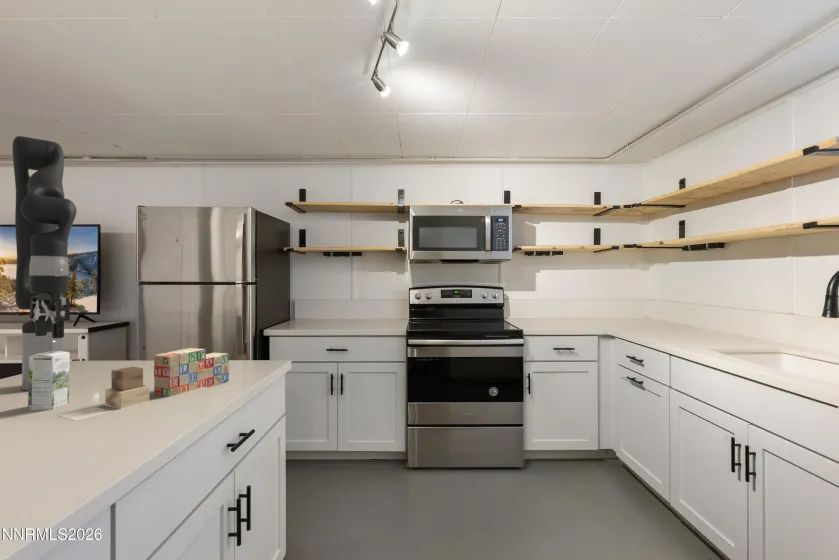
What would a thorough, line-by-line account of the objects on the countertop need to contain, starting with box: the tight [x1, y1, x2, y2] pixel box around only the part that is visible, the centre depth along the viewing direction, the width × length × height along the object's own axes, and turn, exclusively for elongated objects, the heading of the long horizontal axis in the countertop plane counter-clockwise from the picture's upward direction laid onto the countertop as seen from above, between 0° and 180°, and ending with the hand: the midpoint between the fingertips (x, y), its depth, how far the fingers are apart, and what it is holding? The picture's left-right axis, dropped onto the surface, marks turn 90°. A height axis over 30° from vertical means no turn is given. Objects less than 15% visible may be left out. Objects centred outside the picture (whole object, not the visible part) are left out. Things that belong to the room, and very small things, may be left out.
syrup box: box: [27, 350, 71, 411], centre depth 106 cm, size 6×6×14 cm
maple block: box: [104, 384, 150, 410], centre depth 109 cm, size 7×7×4 cm
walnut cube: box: [111, 366, 144, 391], centre depth 109 cm, size 5×5×5 cm
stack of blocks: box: [153, 347, 230, 397], centre depth 126 cm, size 21×6×12 cm, turn 160°
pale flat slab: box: [60, 400, 151, 422], centre depth 106 cm, size 15×17×1 cm
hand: (49, 337), depth 106 cm, fingers open, 8 cm apart
